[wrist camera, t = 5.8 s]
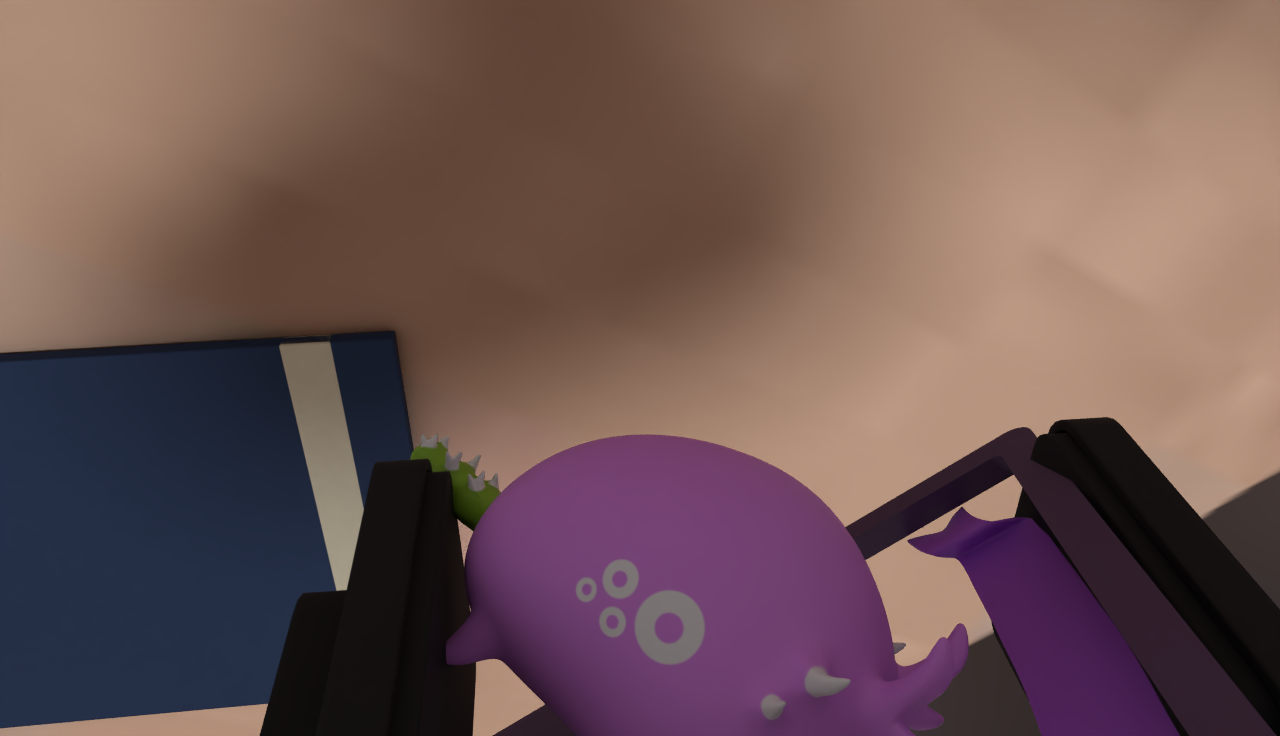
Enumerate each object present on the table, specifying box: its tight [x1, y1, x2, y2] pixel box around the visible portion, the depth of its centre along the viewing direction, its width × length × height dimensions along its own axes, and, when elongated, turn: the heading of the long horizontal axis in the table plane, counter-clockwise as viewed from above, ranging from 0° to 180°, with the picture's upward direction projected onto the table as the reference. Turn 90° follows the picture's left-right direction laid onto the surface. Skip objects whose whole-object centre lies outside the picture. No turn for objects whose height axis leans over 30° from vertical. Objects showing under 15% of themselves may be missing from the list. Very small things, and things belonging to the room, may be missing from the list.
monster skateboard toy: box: [410, 427, 1276, 736], centre depth 9 cm, size 7×5×9 cm
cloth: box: [0, 331, 414, 728], centre depth 25 cm, size 16×12×1 cm
